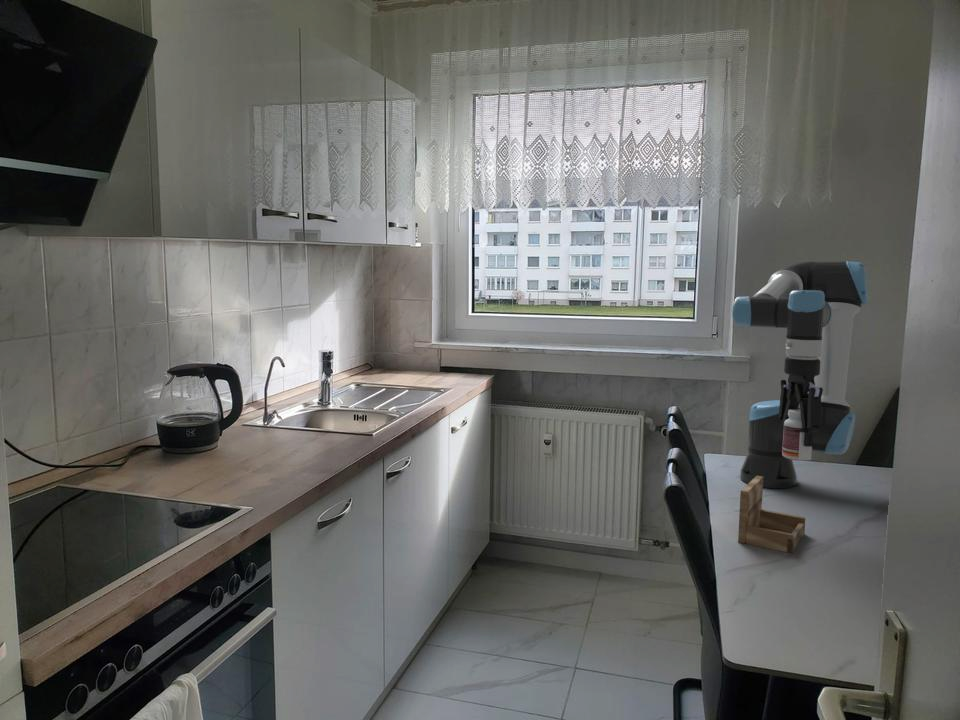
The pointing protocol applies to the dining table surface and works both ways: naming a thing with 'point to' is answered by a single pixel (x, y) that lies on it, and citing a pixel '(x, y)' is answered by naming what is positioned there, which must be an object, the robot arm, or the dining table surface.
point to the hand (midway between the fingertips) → (796, 455)
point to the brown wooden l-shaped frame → (766, 522)
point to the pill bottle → (792, 435)
